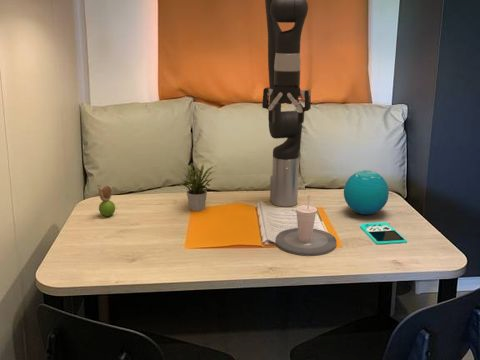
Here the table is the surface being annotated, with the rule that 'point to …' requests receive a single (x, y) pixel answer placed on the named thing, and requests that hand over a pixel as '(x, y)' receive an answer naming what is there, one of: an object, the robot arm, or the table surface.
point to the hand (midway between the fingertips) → (285, 123)
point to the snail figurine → (106, 201)
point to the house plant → (197, 188)
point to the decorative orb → (366, 192)
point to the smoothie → (306, 221)
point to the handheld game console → (382, 233)
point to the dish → (317, 245)
